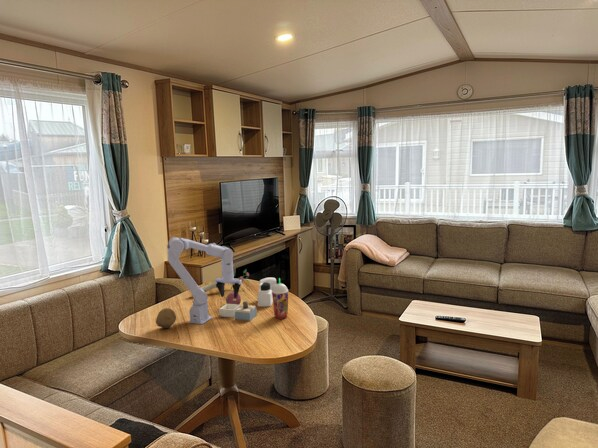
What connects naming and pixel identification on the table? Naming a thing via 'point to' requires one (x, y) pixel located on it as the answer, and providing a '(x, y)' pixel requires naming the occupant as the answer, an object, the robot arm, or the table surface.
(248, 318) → the slate pot
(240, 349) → the table surface
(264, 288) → the medicine bottle
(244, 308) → the lid
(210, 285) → the flower vase
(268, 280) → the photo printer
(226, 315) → the cream pot
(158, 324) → the natural sponge
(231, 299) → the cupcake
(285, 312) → the smoothie
